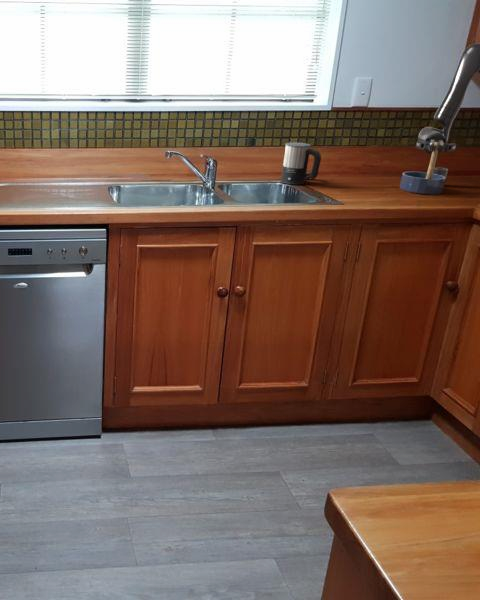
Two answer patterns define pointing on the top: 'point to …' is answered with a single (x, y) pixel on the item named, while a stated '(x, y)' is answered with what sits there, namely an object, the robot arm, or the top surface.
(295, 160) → the milk frother
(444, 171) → the holder
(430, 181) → the bowl
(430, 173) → the stick
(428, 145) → the robot arm
